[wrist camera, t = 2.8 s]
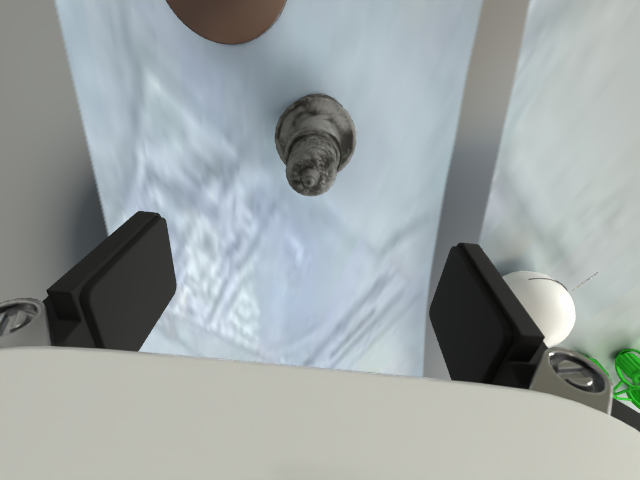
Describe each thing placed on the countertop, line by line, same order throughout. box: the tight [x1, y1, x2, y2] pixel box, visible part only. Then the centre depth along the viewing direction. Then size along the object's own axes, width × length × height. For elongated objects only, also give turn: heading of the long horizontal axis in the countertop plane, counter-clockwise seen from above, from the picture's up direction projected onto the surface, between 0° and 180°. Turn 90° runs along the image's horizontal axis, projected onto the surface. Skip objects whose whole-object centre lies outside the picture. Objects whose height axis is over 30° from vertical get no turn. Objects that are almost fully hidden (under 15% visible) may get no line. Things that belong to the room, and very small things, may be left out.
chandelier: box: [583, 349, 640, 409], centre depth 39 cm, size 15×15×7 cm
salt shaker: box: [275, 94, 356, 196], centre depth 22 cm, size 6×6×12 cm
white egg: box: [502, 271, 598, 348], centre depth 31 cm, size 10×7×7 cm
